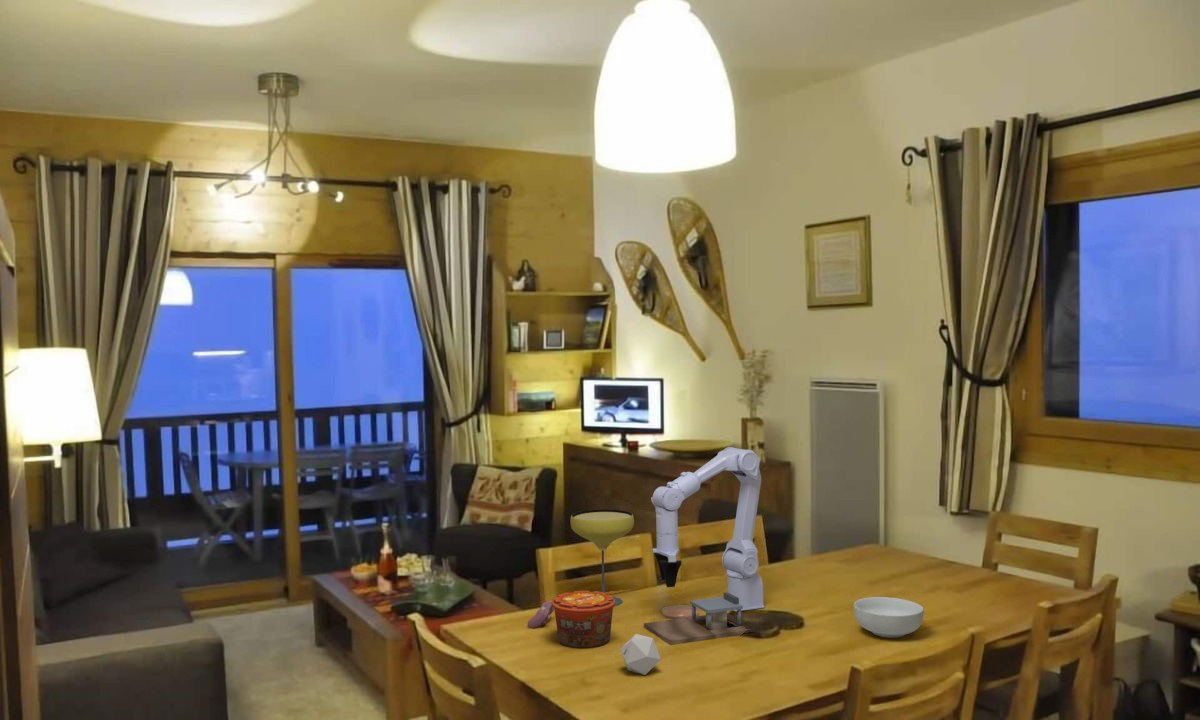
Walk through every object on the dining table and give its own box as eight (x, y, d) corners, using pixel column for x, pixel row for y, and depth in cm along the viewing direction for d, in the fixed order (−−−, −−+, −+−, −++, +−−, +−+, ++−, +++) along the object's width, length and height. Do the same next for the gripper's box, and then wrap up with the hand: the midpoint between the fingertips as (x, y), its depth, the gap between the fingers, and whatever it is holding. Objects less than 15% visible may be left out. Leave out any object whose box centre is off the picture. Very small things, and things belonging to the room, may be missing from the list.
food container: (594, 654, 233) (593, 610, 233) (539, 644, 242) (538, 601, 241) (628, 636, 247) (627, 594, 246) (575, 627, 255) (574, 586, 255)
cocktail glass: (561, 607, 274) (560, 518, 273) (586, 591, 291) (585, 507, 290) (621, 613, 267) (620, 522, 266) (644, 596, 284) (642, 510, 283)
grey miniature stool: (724, 614, 259) (723, 590, 259) (743, 624, 250) (742, 599, 250) (690, 618, 256) (690, 594, 256) (708, 629, 247) (707, 604, 246)
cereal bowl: (887, 648, 235) (886, 618, 234) (840, 629, 249) (839, 602, 249) (938, 636, 242) (938, 608, 242) (890, 619, 257) (889, 593, 257)
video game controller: (540, 635, 254) (551, 611, 253) (525, 626, 255) (536, 603, 254) (550, 624, 264) (561, 601, 263) (535, 615, 265) (546, 593, 264)
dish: (689, 606, 272) (688, 603, 272) (705, 616, 263) (705, 612, 263) (656, 611, 269) (656, 607, 269) (671, 620, 259) (671, 617, 259)
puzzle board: (725, 616, 263) (725, 612, 263) (755, 632, 248) (755, 628, 248) (643, 627, 254) (643, 623, 254) (670, 644, 239) (670, 640, 239)
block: (719, 624, 256) (719, 605, 255) (727, 628, 252) (726, 609, 252) (706, 626, 254) (705, 607, 254) (713, 630, 250) (712, 611, 250)
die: (627, 665, 227) (609, 639, 222) (659, 646, 227) (642, 619, 223) (638, 689, 220) (620, 662, 215) (671, 669, 220) (654, 642, 216)
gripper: (648, 527, 267) (649, 577, 267) (656, 538, 252) (657, 590, 253) (673, 526, 267) (674, 575, 268) (683, 537, 253) (684, 589, 253)
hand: (668, 583), depth 260 cm, fingers open, 7 cm apart
